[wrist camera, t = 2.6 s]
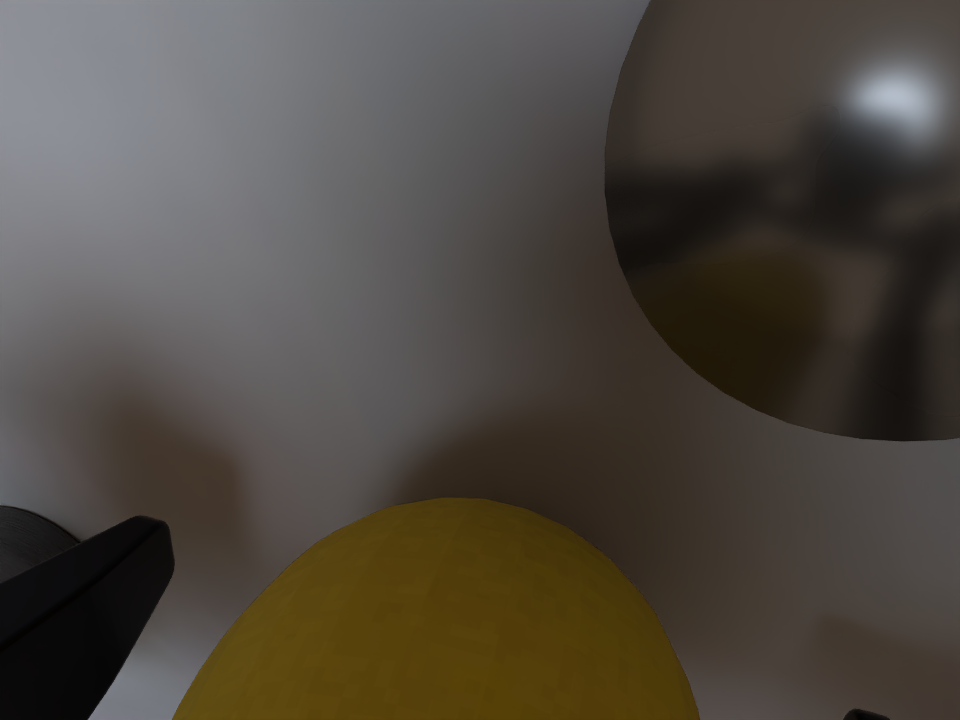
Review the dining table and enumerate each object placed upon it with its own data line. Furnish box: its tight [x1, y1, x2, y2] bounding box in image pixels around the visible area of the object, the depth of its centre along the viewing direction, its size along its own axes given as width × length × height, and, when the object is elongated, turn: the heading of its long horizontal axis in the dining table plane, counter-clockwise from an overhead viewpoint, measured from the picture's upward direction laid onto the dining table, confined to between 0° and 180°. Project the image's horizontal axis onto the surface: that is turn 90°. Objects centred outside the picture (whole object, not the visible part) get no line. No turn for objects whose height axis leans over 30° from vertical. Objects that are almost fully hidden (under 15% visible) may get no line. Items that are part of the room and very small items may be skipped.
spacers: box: [0, 0, 960, 583], centre depth 9 cm, size 17×22×4 cm
